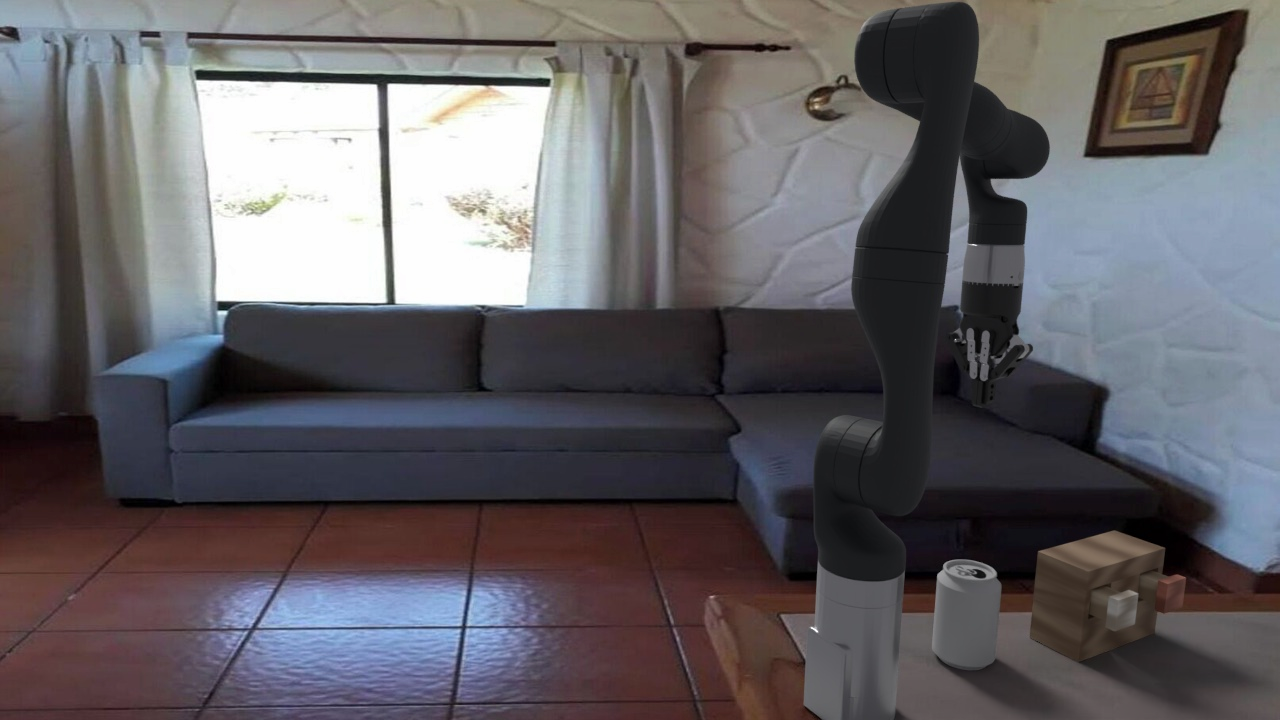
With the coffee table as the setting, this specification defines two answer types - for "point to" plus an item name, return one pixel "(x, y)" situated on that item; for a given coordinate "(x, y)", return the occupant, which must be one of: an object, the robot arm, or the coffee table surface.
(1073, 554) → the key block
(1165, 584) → the key red
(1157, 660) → the coffee table surface
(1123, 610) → the key cream
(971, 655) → the can
